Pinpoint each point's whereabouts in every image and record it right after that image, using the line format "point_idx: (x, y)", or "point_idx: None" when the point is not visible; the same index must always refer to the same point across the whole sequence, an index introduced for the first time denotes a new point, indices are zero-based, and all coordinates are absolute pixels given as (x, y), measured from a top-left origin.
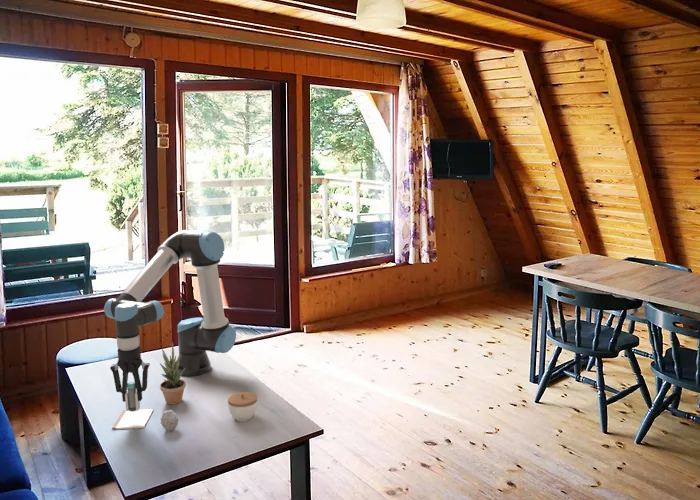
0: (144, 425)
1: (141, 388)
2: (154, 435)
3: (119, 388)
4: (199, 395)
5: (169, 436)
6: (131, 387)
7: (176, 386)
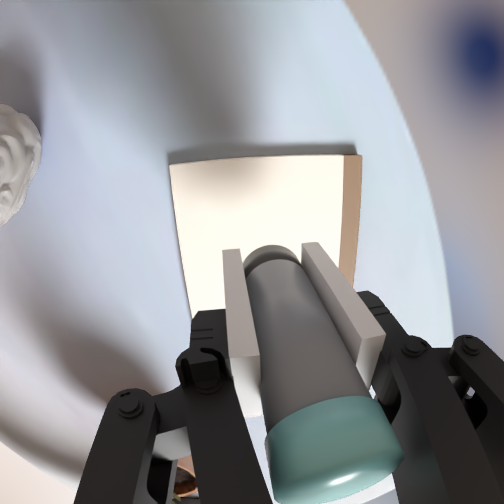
0: (171, 178)
1: (171, 428)
2: (84, 80)
3: (471, 373)
4: (87, 432)
5: (16, 86)
6: (327, 427)
7: None
